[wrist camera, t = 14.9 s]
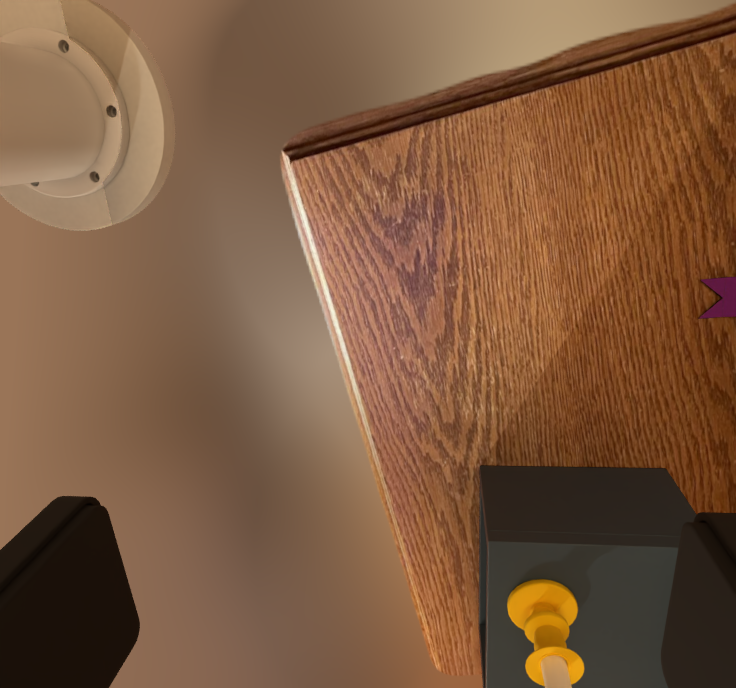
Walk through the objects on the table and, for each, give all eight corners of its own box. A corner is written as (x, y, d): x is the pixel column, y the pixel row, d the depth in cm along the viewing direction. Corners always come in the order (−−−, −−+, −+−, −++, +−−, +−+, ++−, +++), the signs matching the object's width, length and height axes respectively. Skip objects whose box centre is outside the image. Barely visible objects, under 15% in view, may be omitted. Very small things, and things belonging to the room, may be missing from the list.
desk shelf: (478, 627, 57) (489, 774, 44) (479, 465, 50) (492, 582, 37) (640, 637, 54) (702, 794, 42) (665, 467, 47) (749, 593, 34)
